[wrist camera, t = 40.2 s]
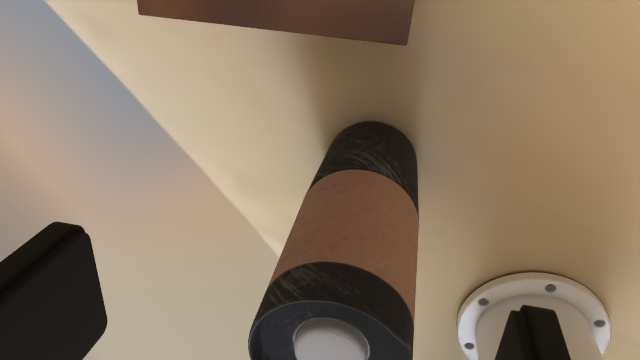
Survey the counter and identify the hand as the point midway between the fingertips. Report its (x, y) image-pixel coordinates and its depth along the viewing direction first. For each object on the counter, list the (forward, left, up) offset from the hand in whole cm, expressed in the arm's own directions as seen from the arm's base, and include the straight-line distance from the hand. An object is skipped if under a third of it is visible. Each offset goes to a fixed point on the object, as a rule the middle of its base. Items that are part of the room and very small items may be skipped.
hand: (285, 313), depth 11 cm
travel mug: (-10, 0, -27) cm, 29 cm away
